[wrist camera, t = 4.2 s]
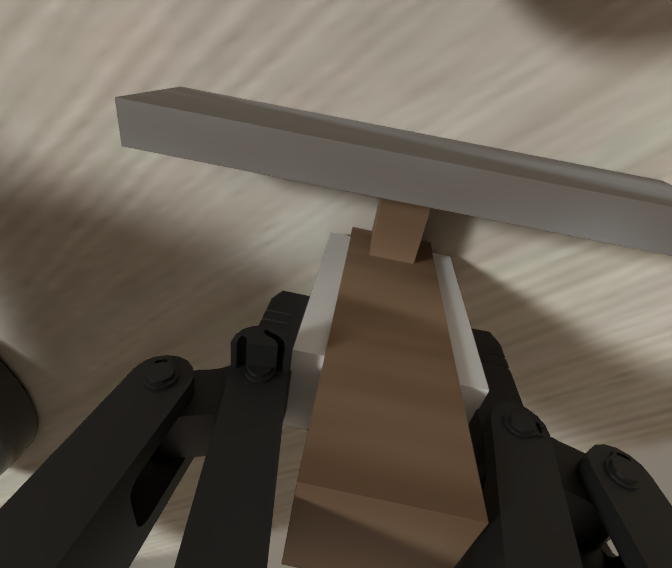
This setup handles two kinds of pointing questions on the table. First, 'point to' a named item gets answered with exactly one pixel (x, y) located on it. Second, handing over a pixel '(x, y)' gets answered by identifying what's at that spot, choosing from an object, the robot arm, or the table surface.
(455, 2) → the table surface
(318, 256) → the table surface
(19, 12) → the table surface
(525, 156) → the scraper
